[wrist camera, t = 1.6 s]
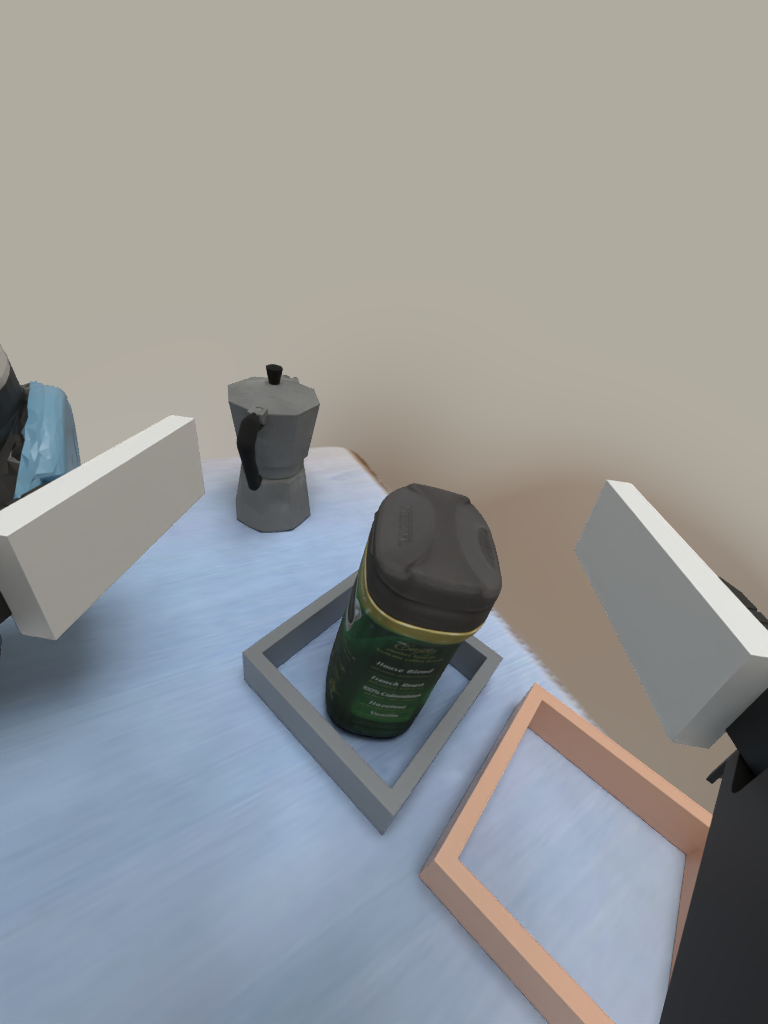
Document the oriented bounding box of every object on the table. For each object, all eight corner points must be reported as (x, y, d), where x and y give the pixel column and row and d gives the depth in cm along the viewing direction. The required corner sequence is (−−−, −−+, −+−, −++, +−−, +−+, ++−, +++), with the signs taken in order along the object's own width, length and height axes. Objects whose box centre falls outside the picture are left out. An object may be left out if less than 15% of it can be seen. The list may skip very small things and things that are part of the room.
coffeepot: (254, 473, 55) (250, 337, 44) (321, 487, 55) (334, 355, 44) (204, 550, 43) (181, 388, 32) (291, 566, 43) (298, 411, 32)
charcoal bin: (244, 679, 33) (242, 652, 30) (366, 586, 43) (372, 559, 40) (382, 834, 26) (393, 816, 24) (487, 682, 36) (503, 658, 34)
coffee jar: (417, 748, 31) (531, 607, 19) (316, 732, 30) (372, 575, 18) (415, 638, 38) (497, 488, 27) (334, 623, 38) (382, 461, 26)
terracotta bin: (418, 875, 25) (434, 860, 23) (516, 705, 35) (535, 682, 33) (670, 1160, 19) (730, 1181, 16) (703, 853, 29) (743, 838, 26)
